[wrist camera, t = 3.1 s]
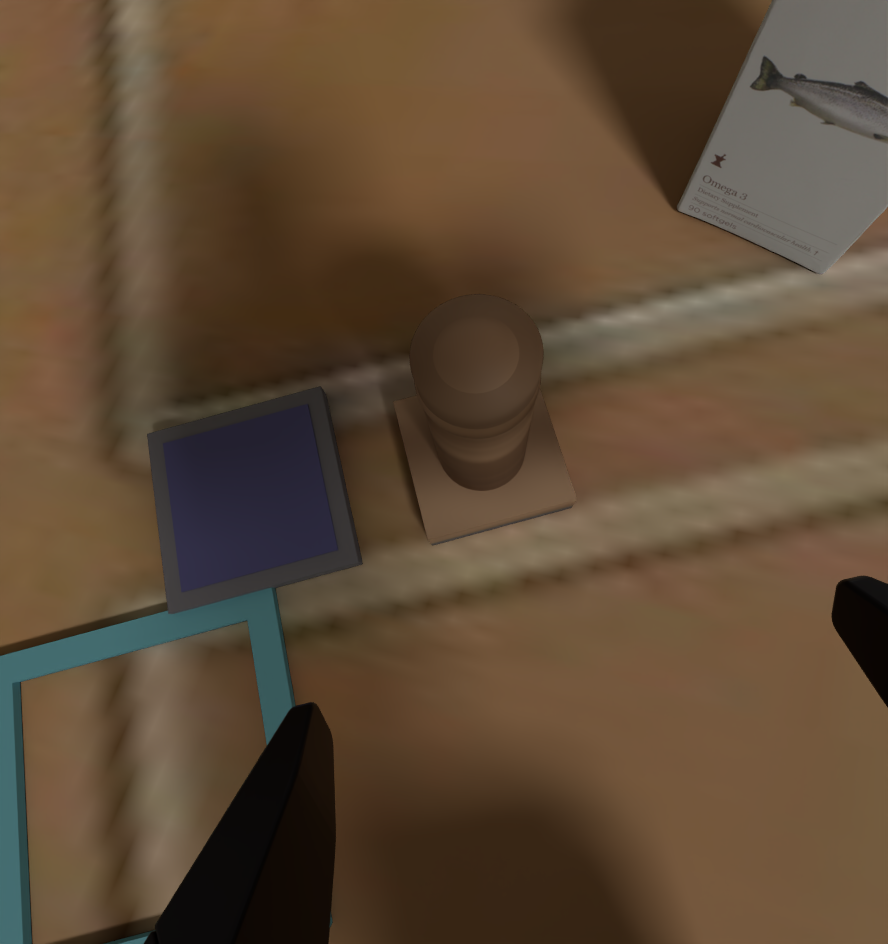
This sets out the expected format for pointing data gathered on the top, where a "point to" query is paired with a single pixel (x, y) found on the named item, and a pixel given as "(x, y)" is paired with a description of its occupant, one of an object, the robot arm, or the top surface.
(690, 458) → the top surface
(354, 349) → the top surface
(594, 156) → the top surface
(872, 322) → the top surface
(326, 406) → the ink pad
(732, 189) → the supplement box
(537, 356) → the stamp
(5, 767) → the frame
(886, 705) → the robot arm
